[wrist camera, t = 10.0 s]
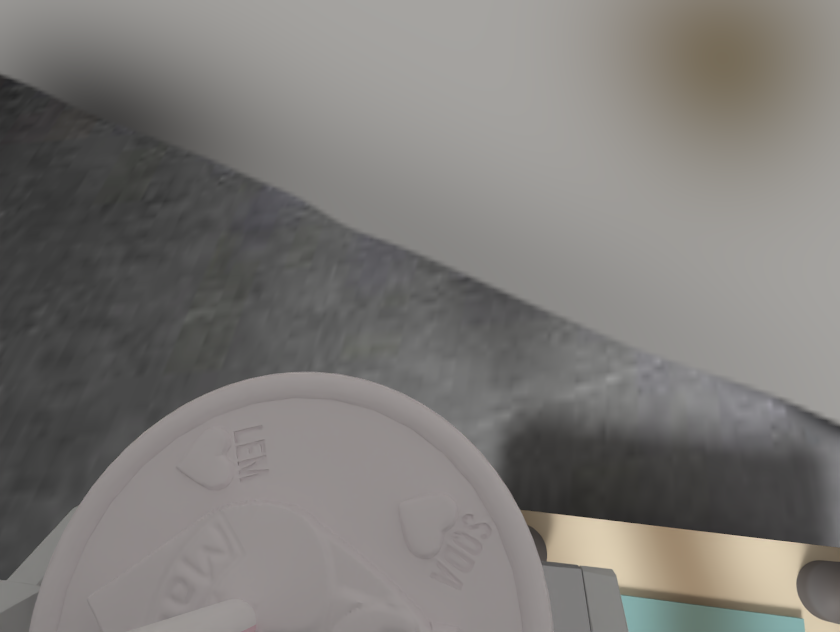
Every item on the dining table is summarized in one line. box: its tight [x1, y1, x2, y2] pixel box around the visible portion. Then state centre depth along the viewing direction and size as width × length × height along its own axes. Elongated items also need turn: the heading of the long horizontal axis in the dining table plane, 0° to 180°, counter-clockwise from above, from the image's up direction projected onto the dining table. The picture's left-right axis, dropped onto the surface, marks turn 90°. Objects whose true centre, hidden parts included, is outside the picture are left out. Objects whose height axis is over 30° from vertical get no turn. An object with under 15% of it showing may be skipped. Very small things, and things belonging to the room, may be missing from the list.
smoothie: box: [29, 372, 554, 632], centre depth 9 cm, size 6×6×14 cm
